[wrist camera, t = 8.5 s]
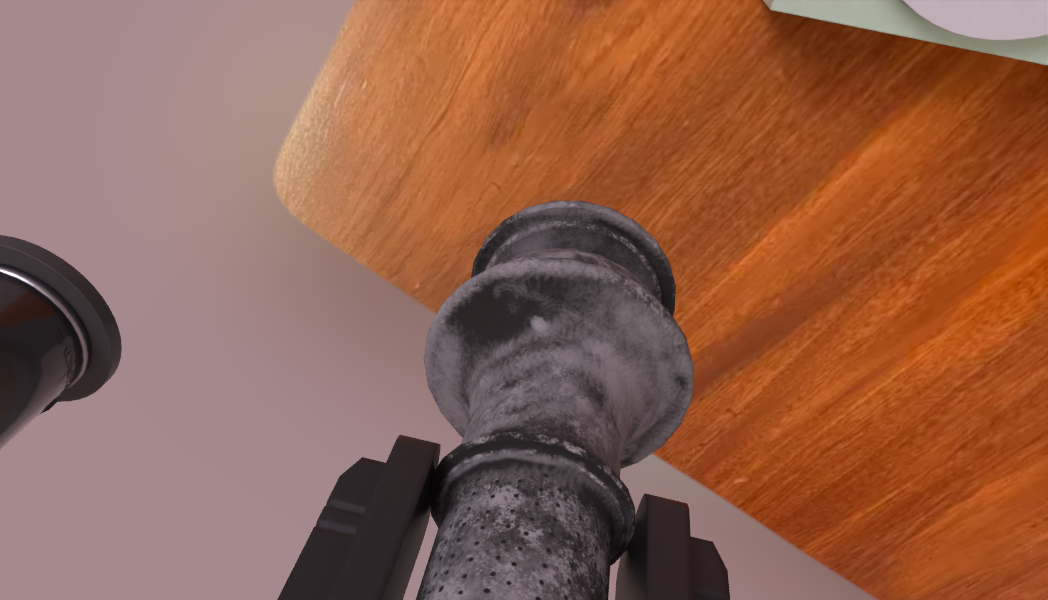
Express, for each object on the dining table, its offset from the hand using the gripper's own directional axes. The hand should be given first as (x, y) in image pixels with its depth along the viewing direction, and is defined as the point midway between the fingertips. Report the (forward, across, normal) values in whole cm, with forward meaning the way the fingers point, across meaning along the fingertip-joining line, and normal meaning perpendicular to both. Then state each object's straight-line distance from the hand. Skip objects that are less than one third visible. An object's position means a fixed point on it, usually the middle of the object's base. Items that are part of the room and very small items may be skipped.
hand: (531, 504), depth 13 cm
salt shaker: (+7, 0, 0) cm, 7 cm away
